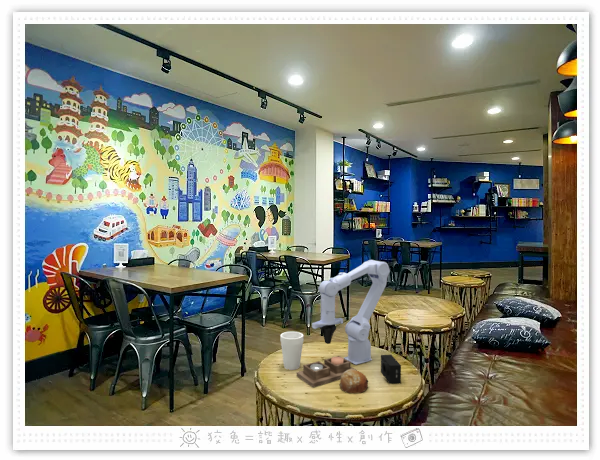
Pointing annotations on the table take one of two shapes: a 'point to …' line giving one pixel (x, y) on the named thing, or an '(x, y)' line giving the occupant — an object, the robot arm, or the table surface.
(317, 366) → the grey plunger
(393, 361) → the digital camera
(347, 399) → the table surface
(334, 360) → the tan rounded piece
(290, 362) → the foam cup
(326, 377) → the brown wooden tray
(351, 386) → the bread roll
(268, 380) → the table surface
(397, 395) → the table surface
